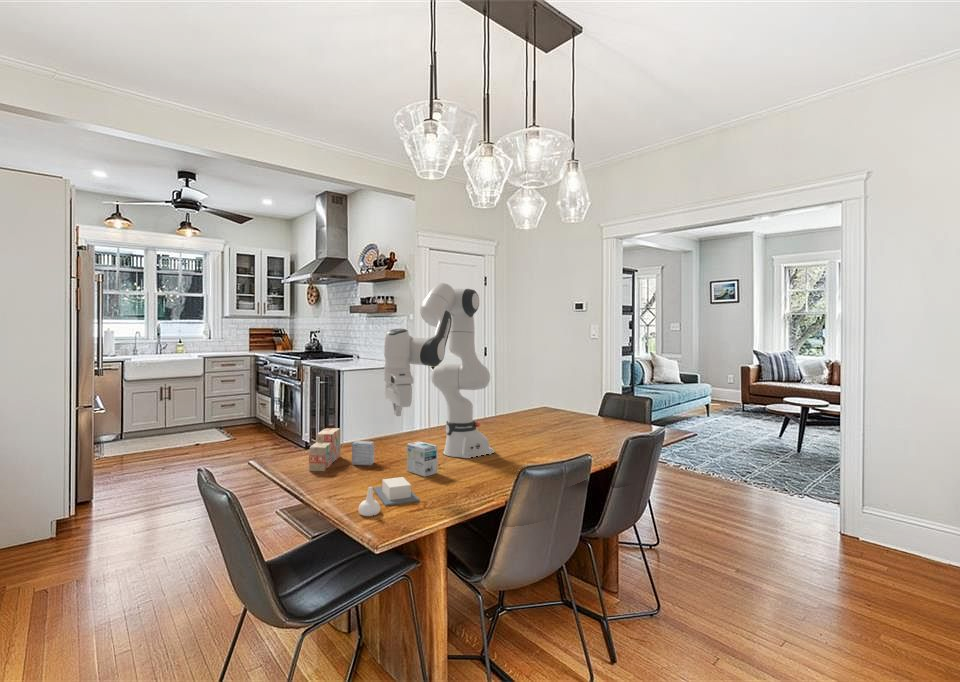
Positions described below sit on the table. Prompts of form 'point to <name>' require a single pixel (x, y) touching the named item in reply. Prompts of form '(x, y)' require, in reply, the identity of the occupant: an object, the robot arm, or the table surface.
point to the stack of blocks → (324, 449)
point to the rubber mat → (396, 501)
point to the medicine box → (362, 453)
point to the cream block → (396, 488)
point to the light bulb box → (422, 458)
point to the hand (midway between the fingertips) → (397, 415)
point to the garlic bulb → (369, 505)
